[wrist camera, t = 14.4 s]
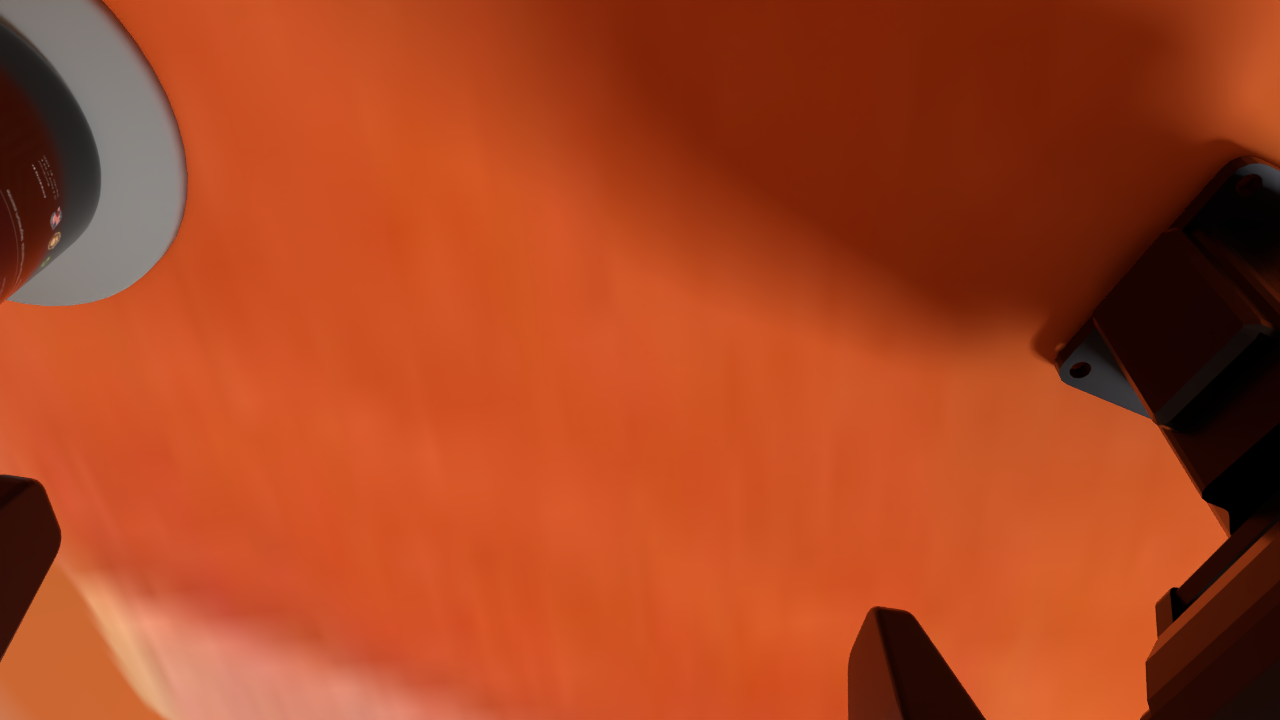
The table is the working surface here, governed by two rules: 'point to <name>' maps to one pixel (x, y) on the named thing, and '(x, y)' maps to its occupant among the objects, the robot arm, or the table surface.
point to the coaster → (108, 149)
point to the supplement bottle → (40, 165)
